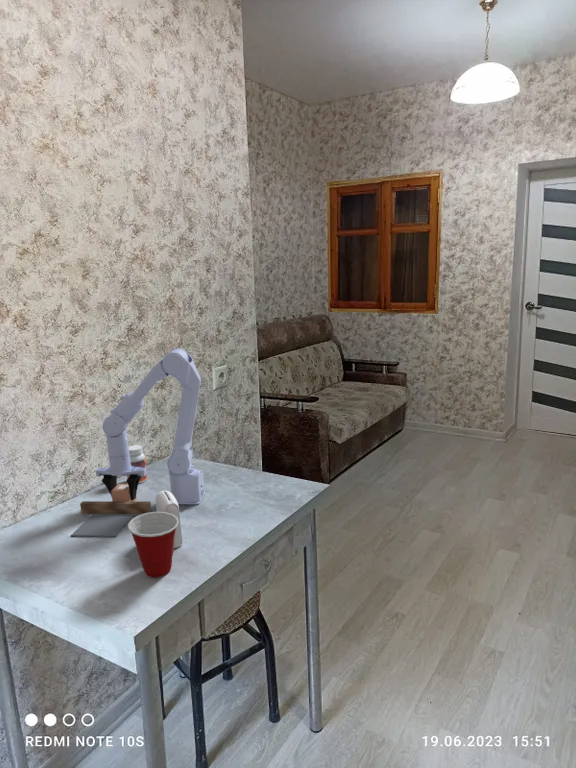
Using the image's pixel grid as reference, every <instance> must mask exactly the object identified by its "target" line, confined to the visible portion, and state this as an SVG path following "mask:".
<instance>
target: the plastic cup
mask: <svg viewBox="0 0 576 768" xmlns="http://www.w3.org/2000/svg"><path fill="white" fill-rule="evenodd" d="M178 524H179V521H178V518H177V517H176V516H175V515H173V514H170V513H167V512H157V511H151V512H150V513H145V514H137V516H135V517H133V518H132V519H131V520H130V521H129V522H128V523H127V526H128V530H129V531H130V533H131V536H132V538H133V542H134V543H135V547H136V551H137V554H138V557H139V561H140V563H141V565H142V568H143V573H145V575H146V576H147V577H149V578H160V577H164V576H166V575H168V573H170V572H171V570H172V566H173V556H174V555H173V554H174V548H173V547H174V536H175V531H176V527H177V526H178Z"/></svg>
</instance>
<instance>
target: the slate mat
mask: <svg viewBox="0 0 576 768" xmlns="http://www.w3.org/2000/svg"><path fill="white" fill-rule="evenodd" d="M134 516H135V514H90V516H89V517H88V518H87V519H86V520H85V521H84V522H83V523H82V524H81V525H80V526H79V527H77V529H76V530H75V531H73V532H72V533H71V534H70V537H71V538H72V537H73V538H75V537H76V538H78V537H80V538H81V537H83V538H89V537H90V538H116V537H117V536H118V535H119V534H120V532H121V531H122V530H124V528H125V527H126V526H127V525H128V524H129V522H130V521H131V520H132V519H133V518H134Z"/></svg>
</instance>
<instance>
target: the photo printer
mask: <svg viewBox="0 0 576 768" xmlns="http://www.w3.org/2000/svg"><path fill="white" fill-rule="evenodd" d="M155 505H156V512H167V513H170V514H173V515H175V516H176V517H177V518H178V521H179V524H178V526H177V527H176V531H175V536H174V547H173V549H177V548H180V547H181V546H182V545H183V533H182V524H181V515H180V514H181V513H180V508H179V507H180V506H179V505H180V504H178V503H177V500H176V499H175V497H174V496H173V494H172V493H171V491H169V490H166V489H165V490H160V491H159V492H157V493H156V495H155Z"/></svg>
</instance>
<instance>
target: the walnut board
mask: <svg viewBox="0 0 576 768" xmlns="http://www.w3.org/2000/svg"><path fill="white" fill-rule="evenodd" d="M79 504H80V505H79V506H80V511H81V512H80V513H81V514H88V515H89V514H90V515H92V514H134V515H142V514H145V513H150V512H152V504H151V501H137V500H136V501H112V500H111V501H107V500H105V501H104V500H103V501H101V500H100V501H99V500H98V501H95V500H94V501H89V500H88V501H86V500H85V501H81V502H80V503H79Z"/></svg>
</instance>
